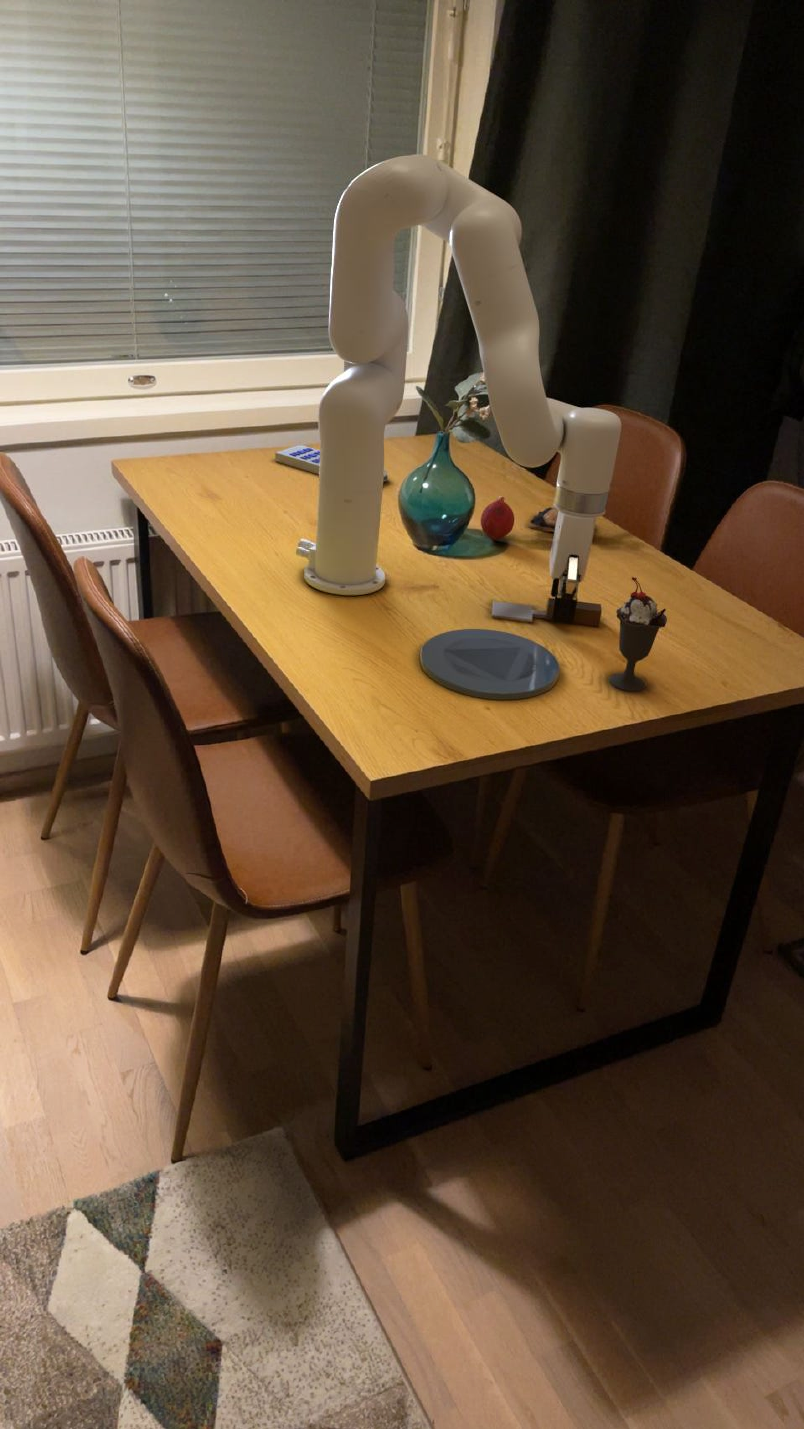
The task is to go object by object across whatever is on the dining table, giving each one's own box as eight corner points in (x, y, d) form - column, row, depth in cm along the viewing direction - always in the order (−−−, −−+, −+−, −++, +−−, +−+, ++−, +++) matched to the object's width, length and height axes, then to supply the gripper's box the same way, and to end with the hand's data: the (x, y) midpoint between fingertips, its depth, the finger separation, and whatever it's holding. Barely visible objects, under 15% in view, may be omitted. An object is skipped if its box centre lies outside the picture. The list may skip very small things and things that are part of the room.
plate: (393, 669, 150) (394, 662, 150) (461, 623, 165) (461, 616, 164) (521, 715, 142) (522, 708, 142) (580, 662, 157) (581, 655, 156)
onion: (509, 549, 192) (515, 504, 188) (475, 544, 193) (481, 499, 189) (513, 537, 197) (519, 493, 193) (480, 532, 198) (486, 488, 194)
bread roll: (594, 526, 206) (598, 507, 204) (584, 540, 199) (588, 520, 197) (538, 514, 209) (541, 495, 207) (526, 528, 202) (529, 508, 200)
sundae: (596, 670, 155) (616, 569, 148) (644, 672, 156) (666, 572, 148) (608, 693, 149) (629, 590, 142) (657, 695, 150) (681, 592, 143)
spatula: (491, 617, 167) (494, 601, 166) (492, 603, 172) (495, 587, 170) (599, 630, 166) (602, 614, 165) (597, 616, 171) (600, 600, 170)
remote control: (300, 454, 229) (300, 443, 228) (391, 480, 218) (392, 469, 217) (274, 461, 223) (275, 450, 222) (367, 489, 212) (368, 478, 211)
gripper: (554, 476, 167) (536, 583, 176) (555, 515, 152) (536, 630, 161) (604, 482, 167) (584, 589, 176) (610, 522, 152) (588, 637, 161)
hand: (561, 609), depth 168 cm, fingers open, 8 cm apart
